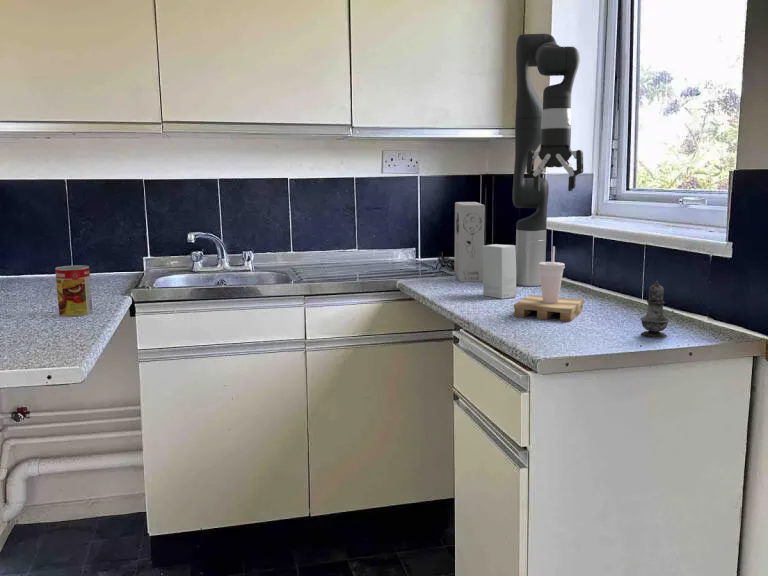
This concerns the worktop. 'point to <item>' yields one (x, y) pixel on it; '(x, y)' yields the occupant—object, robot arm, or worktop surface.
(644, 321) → the salt shaker
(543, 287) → the smoothie
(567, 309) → the tan wavy panel
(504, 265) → the skincare box
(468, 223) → the cereal box
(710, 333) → the worktop surface
